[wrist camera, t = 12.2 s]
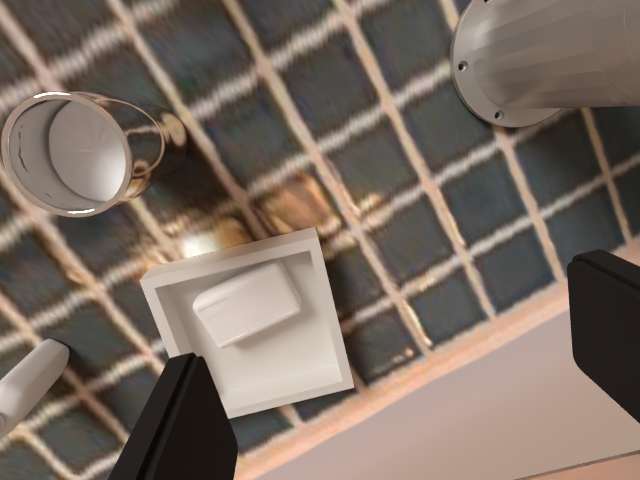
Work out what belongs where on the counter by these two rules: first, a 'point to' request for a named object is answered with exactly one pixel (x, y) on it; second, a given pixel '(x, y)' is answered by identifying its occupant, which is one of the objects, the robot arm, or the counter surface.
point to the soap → (248, 303)
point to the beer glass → (89, 150)
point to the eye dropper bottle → (30, 382)
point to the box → (265, 346)
